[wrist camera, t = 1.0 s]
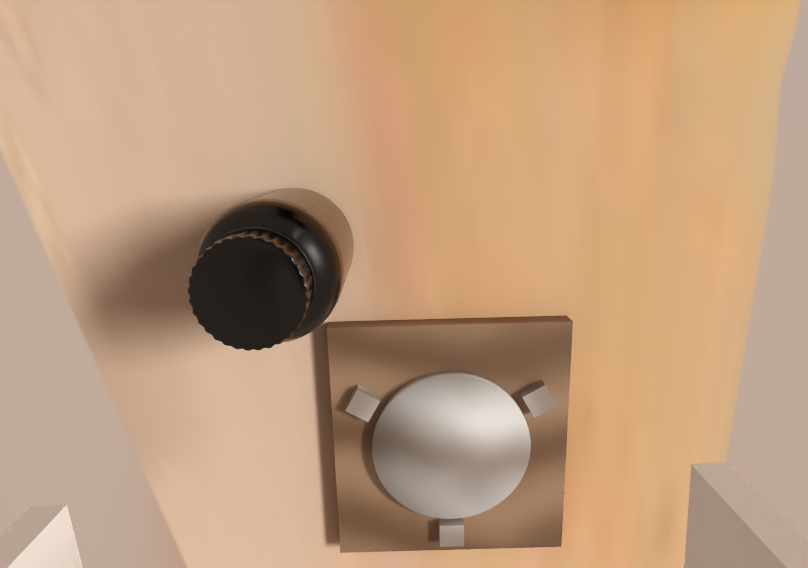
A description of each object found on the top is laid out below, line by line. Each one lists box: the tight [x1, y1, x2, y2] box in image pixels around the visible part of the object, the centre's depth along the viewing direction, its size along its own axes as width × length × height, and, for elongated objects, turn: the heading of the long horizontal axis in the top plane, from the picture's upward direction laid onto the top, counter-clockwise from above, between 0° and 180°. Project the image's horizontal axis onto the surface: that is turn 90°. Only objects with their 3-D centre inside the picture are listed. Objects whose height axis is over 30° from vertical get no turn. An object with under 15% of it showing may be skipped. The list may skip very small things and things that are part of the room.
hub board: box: [327, 316, 573, 553], centre depth 35 cm, size 16×15×2 cm
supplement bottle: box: [188, 188, 353, 351], centre depth 27 cm, size 7×7×12 cm
